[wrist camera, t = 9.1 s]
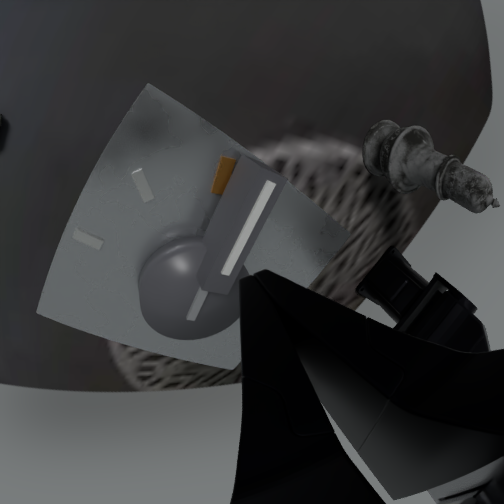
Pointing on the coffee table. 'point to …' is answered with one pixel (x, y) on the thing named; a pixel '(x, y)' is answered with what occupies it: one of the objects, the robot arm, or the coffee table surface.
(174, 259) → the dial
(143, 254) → the panel
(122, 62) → the coffee table surface
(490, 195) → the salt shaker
